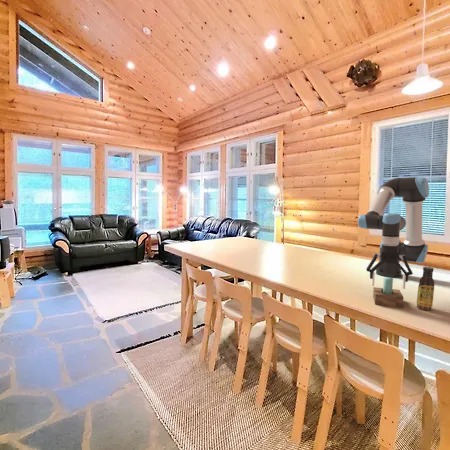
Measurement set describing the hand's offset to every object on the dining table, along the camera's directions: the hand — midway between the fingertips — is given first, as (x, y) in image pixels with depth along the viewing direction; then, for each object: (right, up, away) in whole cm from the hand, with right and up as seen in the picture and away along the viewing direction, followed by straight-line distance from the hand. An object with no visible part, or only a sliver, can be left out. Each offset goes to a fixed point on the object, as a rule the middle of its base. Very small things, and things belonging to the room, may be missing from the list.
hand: (388, 286), depth 152 cm
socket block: (0, -8, +1) cm, 8 cm away
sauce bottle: (+13, -9, -8) cm, 18 cm away
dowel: (0, -8, +1) cm, 8 cm away
